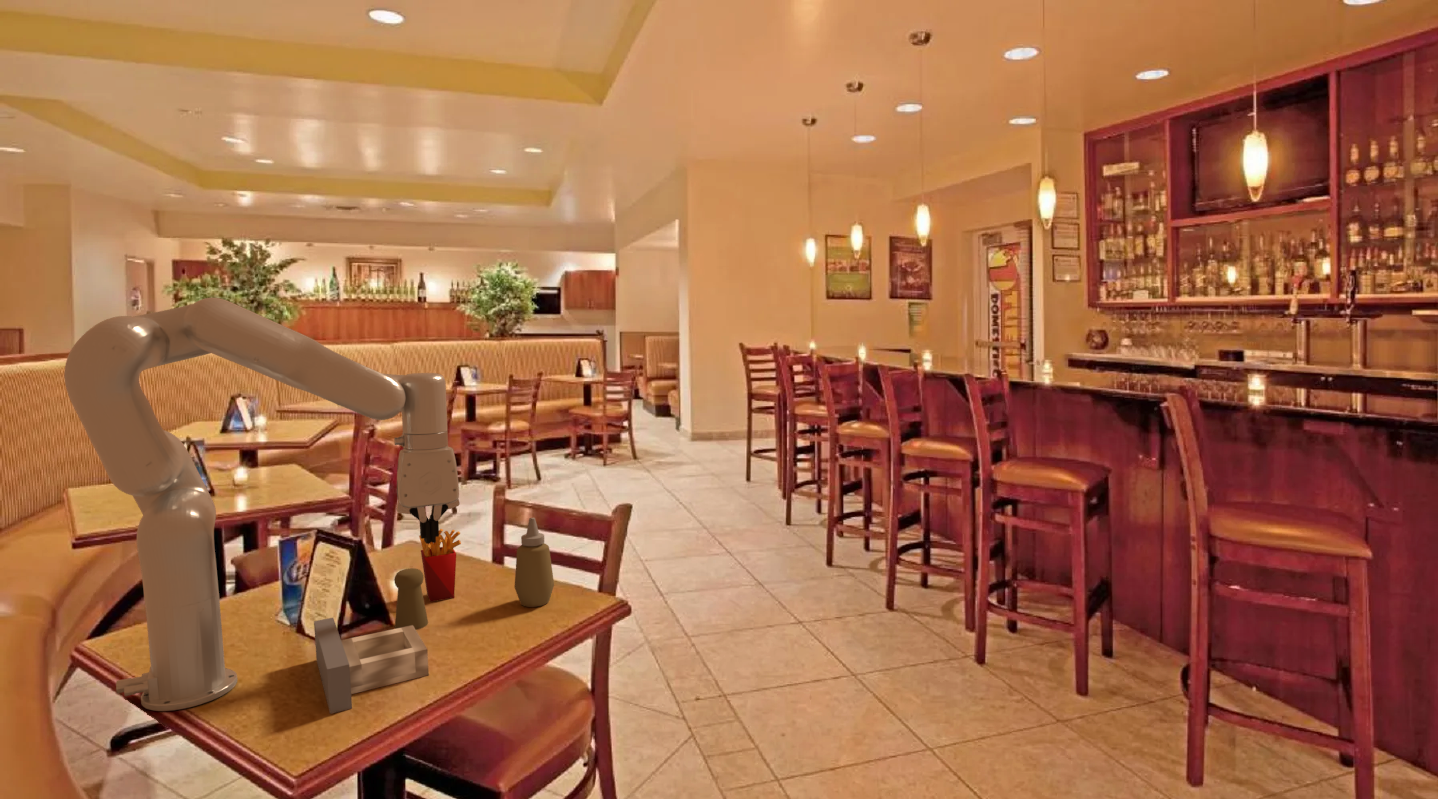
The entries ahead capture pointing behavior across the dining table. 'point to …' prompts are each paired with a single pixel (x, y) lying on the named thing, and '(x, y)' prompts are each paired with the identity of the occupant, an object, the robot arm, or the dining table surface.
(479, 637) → the dining table surface
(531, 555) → the squeeze bottle
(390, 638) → the holder block
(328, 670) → the backstop wall
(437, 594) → the french fries
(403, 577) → the pepper mill
